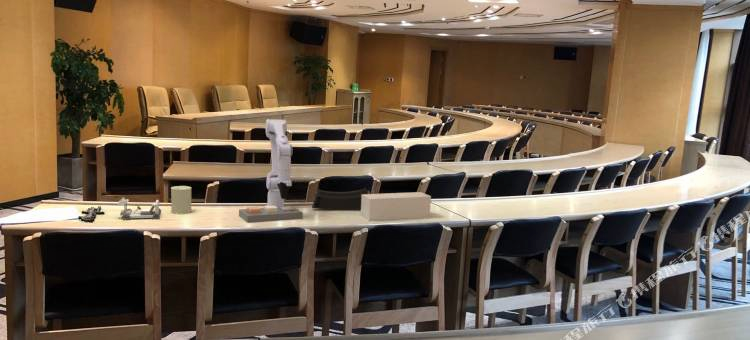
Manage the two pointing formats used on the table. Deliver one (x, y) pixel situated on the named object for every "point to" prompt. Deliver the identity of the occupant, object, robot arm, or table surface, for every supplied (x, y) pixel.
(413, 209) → the beige rectangular block
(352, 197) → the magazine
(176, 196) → the can
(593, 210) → the table surface
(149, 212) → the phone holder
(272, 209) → the key cream
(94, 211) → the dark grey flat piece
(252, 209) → the key terracotta
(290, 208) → the key slate
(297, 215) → the keypad
